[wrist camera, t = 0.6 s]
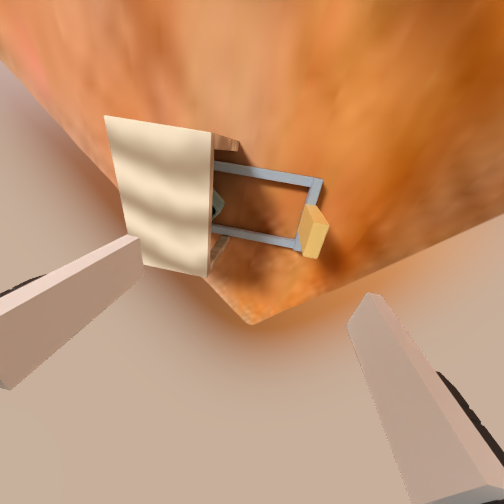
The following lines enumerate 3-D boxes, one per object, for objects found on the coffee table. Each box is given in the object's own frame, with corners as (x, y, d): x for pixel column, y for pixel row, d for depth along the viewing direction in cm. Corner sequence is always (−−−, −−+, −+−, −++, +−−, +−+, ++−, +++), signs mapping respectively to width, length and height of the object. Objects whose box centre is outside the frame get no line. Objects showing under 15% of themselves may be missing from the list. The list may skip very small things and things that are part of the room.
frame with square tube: (166, 152, 33) (113, 150, 23) (322, 178, 31) (342, 190, 21) (172, 222, 40) (132, 246, 29) (301, 247, 38) (308, 282, 27)
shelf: (171, 130, 32) (103, 115, 20) (238, 141, 31) (210, 132, 19) (177, 230, 41) (133, 262, 29) (229, 241, 40) (206, 277, 28)
